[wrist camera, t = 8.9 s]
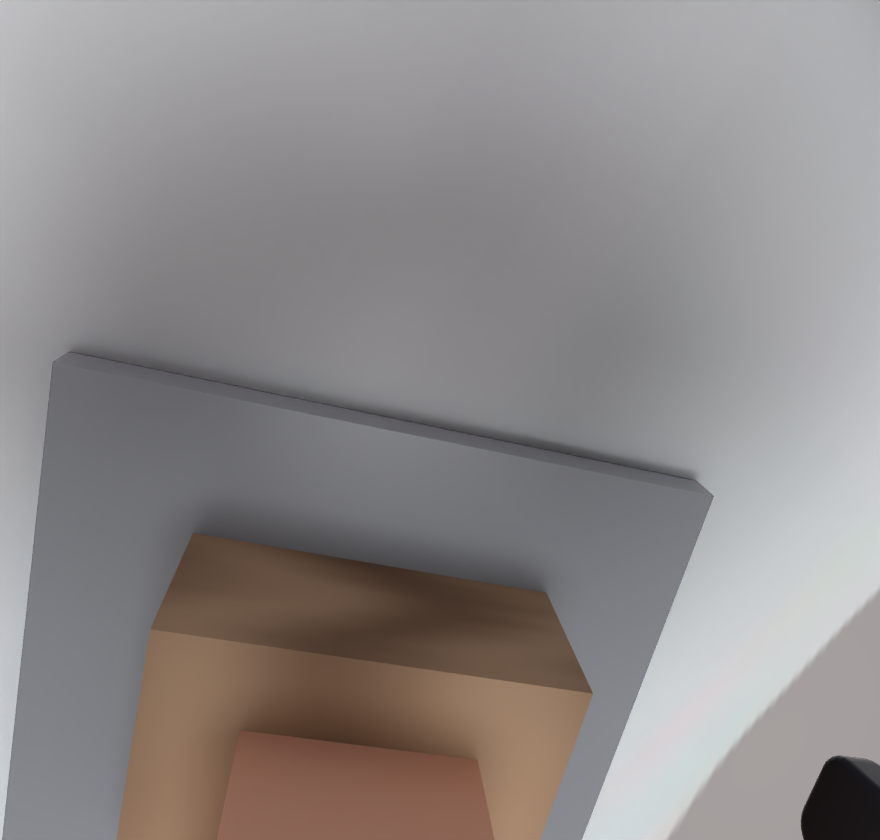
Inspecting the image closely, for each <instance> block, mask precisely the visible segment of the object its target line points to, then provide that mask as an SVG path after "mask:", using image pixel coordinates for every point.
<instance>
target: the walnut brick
mask: <svg viewBox="0 0 880 840" xmlns="http://www.w3.org/2000/svg"><path fill="white" fill-rule="evenodd" d="M592 696H593V692H592V690H591V688H590V686H589V684H588V681H587V679H586V677H585V675H584V673H583V671H582V668H581V666H580V664H579V662H578V660H577V658H576V656H575V653H574V651H573V649H572V647H571V645H570V643H569V640H568V638H567V636H566V634H565V632H564V630H563V627H562V625H561V623H560V621H559V619H558V617H557V614H556V612H555V610H554V608H553V606H552V604H551V602H550V599H549V597H548V595H547V593H545V592H539V591H533V590H527V589H521V588H515V587H509V586H503V585H498V584H492V583H486V582H480V581H474V580H468V579H462V578H456V577H450V576H444V575H439V574H433V573H427V572H421V571H415V570H409V569H403V568H397V567H391V566H385V565H379V564H374V563H368V562H362V561H356V560H350V559H344V558H338V557H332V556H326V555H320V554H315V553H309V552H303V551H297V550H291V549H285V548H279V547H273V546H267V545H261V544H256V543H250V542H244V541H238V540H232V539H226V538H220V537H214V536H208V535H202V534H197V533H193V534H192V536H191V538H190V541H189V543H188V545H187V547H186V550H185V552H184V554H183V556H182V559H181V561H180V563H179V565H178V568H177V570H176V572H175V574H174V577H173V579H172V581H171V583H170V586H169V588H168V590H167V592H166V595H165V597H164V599H163V601H162V604H161V606H160V608H159V611H158V613H157V615H156V617H155V620H154V622H153V624H152V626H151V629H150V633H149V640H148V646H147V652H146V658H145V665H144V671H143V677H142V683H141V689H140V696H139V702H138V708H137V714H136V720H135V727H134V733H133V739H132V745H131V751H130V758H129V764H128V770H127V776H126V782H125V789H124V795H123V801H122V807H121V814H120V820H119V826H118V832H117V838H116V840H217V836H218V831H219V827H220V822H221V817H222V812H223V808H224V803H225V798H226V793H227V789H228V784H229V779H230V774H231V769H232V765H233V760H234V755H235V750H236V746H237V741H238V736H239V731H240V730H242V731H250V732H258V733H266V734H274V735H282V736H290V737H298V738H306V739H314V740H322V741H330V742H338V743H346V744H354V745H362V746H370V747H378V748H386V749H394V750H402V751H410V752H418V753H426V754H434V755H442V756H450V757H458V758H466V759H474V760H478V764H479V769H480V774H481V778H482V783H483V788H484V792H485V797H486V802H487V806H488V811H489V816H490V820H491V825H492V830H493V834H494V839H495V840H540V838H541V836H542V833H543V830H544V827H545V825H546V822H547V819H548V816H549V814H550V811H551V808H552V805H553V803H554V800H555V797H556V794H557V792H558V789H559V786H560V783H561V781H562V778H563V775H564V772H565V770H566V767H567V764H568V761H569V759H570V756H571V753H572V750H573V748H574V745H575V742H576V739H577V737H578V734H579V731H580V728H581V726H582V723H583V720H584V717H585V715H586V712H587V709H588V707H589V704H590V701H591V698H592Z"/></svg>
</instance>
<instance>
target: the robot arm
mask: <svg viewBox="0 0 880 840" xmlns="http://www.w3.org/2000/svg"><path fill="white" fill-rule="evenodd" d="M801 830H802V835H803V839H804V840H880V765H878V764H877V763H875V762H873V761H870V760H868V759H864V758H856V757H847V756H834V757H831V758H830V759H829V760H828V761H826V763H825V764H824V766H823V768H822V770H821V772H820V774H819V776H818V778H817V781H816V783H815V785H814V787H813V789H812V791H811V793H810V795H809V798H808V800H807V802H806V804H805V806H804V808H803V811H802V815H801Z"/></svg>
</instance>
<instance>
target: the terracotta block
mask: <svg viewBox="0 0 880 840" xmlns="http://www.w3.org/2000/svg"><path fill="white" fill-rule="evenodd" d="M217 840H495V839H494V834H493V830H492V825H491V820H490V816H489V811H488V806H487V802H486V797H485V792H484V788H483V783H482V778H481V774H480V769H479V764H478V760H474V759H466V758H458V757H450V756H442V755H434V754H426V753H418V752H410V751H402V750H394V749H386V748H378V747H370V746H362V745H354V744H346V743H338V742H330V741H322V740H314V739H306V738H298V737H290V736H282V735H274V734H266V733H258V732H250V731H242V730H240V731H239V736H238V741H237V746H236V750H235V755H234V760H233V765H232V769H231V774H230V779H229V784H228V789H227V793H226V798H225V803H224V808H223V812H222V817H221V822H220V827H219V831H218V836H217Z"/></svg>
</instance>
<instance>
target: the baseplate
mask: <svg viewBox="0 0 880 840" xmlns="http://www.w3.org/2000/svg"><path fill="white" fill-rule="evenodd" d="M713 497H714V496H713V495H712V494H711V493H710V492H709V491H707V490H706V489H705V488H704V487H703V486H702V485H701V484H700V483H698V482H697V481H695V480H690V479H685V478H680V477H675V476H670V475H665V474H661V473H656V472H651V471H646V470H641V469H636V468H631V467H627V466H622V465H617V464H612V463H607V462H602V461H597V460H592V459H588V458H583V457H578V456H573V455H568V454H563V453H558V452H554V451H549V450H544V449H539V448H534V447H529V446H524V445H520V444H515V443H510V442H505V441H500V440H495V439H490V438H486V437H481V436H476V435H471V434H466V433H461V432H456V431H452V430H447V429H442V428H437V427H432V426H427V425H422V424H418V423H413V422H408V421H403V420H398V419H393V418H388V417H384V416H379V415H374V414H369V413H364V412H359V411H354V410H350V409H345V408H340V407H335V406H330V405H325V404H320V403H316V402H311V401H306V400H301V399H296V398H291V397H286V396H282V395H277V394H272V393H267V392H262V391H257V390H252V389H248V388H243V387H238V386H233V385H228V384H223V383H218V382H214V381H209V380H204V379H199V378H194V377H189V376H184V375H180V374H175V373H170V372H165V371H160V370H155V369H150V368H146V367H141V366H136V365H131V364H126V363H121V362H116V361H112V360H107V359H102V358H97V357H92V356H87V355H82V354H78V353H73V352H68V353H67V354H65V355H64V356H62V357H60V358H59V359H57V360H56V361H54V362H53V366H52V376H51V385H50V395H49V404H48V413H47V423H46V432H45V442H44V451H43V460H42V470H41V479H40V489H39V498H38V507H37V517H36V526H35V536H34V545H33V554H32V564H31V573H30V583H29V592H28V602H27V611H26V620H25V630H24V639H23V649H22V658H21V667H20V677H19V686H18V696H17V705H16V714H15V724H14V733H13V743H12V752H11V761H10V771H9V780H8V790H7V799H6V808H5V818H4V827H3V837H2V840H116V838H117V832H118V826H119V820H120V814H121V807H122V801H123V795H124V789H125V782H126V776H127V770H128V764H129V758H130V751H131V745H132V739H133V733H134V727H135V720H136V714H137V708H138V702H139V696H140V689H141V683H142V677H143V671H144V665H145V658H146V652H147V646H148V640H149V633H150V629H151V626H152V624H153V622H154V620H155V617H156V615H157V613H158V611H159V608H160V606H161V604H162V601H163V599H164V597H165V595H166V592H167V590H168V588H169V586H170V583H171V581H172V579H173V577H174V574H175V572H176V570H177V568H178V565H179V563H180V561H181V559H182V556H183V554H184V552H185V550H186V547H187V545H188V543H189V541H190V538H191V536H192V534H193V533H197V534H202V535H208V536H214V537H220V538H226V539H232V540H238V541H244V542H250V543H256V544H261V545H267V546H273V547H279V548H285V549H291V550H297V551H303V552H309V553H315V554H320V555H326V556H332V557H338V558H344V559H350V560H356V561H362V562H368V563H374V564H379V565H385V566H391V567H397V568H403V569H409V570H415V571H421V572H427V573H433V574H439V575H444V576H450V577H456V578H462V579H468V580H474V581H480V582H486V583H492V584H498V585H503V586H509V587H515V588H521V589H527V590H533V591H539V592H545V593H547V595H548V597H549V599H550V602H551V604H552V606H553V608H554V610H555V612H556V614H557V617H558V619H559V621H560V623H561V625H562V627H563V630H564V632H565V634H566V636H567V638H568V640H569V643H570V645H571V647H572V649H573V651H574V653H575V656H576V658H577V660H578V662H579V664H580V666H581V668H582V671H583V673H584V675H585V677H586V679H587V681H588V684H589V686H590V688H591V690H592V692H593V696H592V698H591V701H590V704H589V707H588V709H587V712H586V715H585V717H584V720H583V723H582V726H581V728H580V731H579V734H578V737H577V739H576V742H575V745H574V748H573V750H572V753H571V756H570V759H569V761H568V764H567V767H566V770H565V772H564V775H563V778H562V781H561V783H560V786H559V789H558V792H557V794H556V797H555V800H554V803H553V805H552V808H551V811H550V814H549V816H548V819H547V822H546V825H545V827H544V830H543V833H542V836H541V838H540V840H582V838H583V835H584V832H585V830H586V827H587V825H588V822H589V819H590V817H591V814H592V812H593V809H594V806H595V804H596V801H597V798H598V796H599V793H600V791H601V788H602V785H603V783H604V780H605V778H606V775H607V772H608V770H609V767H610V765H611V762H612V759H613V757H614V754H615V752H616V749H617V746H618V744H619V741H620V739H621V736H622V733H623V731H624V728H625V726H626V723H627V720H628V718H629V715H630V713H631V710H632V707H633V705H634V702H635V700H636V697H637V694H638V692H639V689H640V687H641V684H642V681H643V679H644V676H645V674H646V671H647V668H648V666H649V663H650V661H651V658H652V655H653V653H654V650H655V648H656V645H657V642H658V640H659V637H660V635H661V632H662V629H663V627H664V624H665V622H666V619H667V616H668V614H669V611H670V609H671V606H672V603H673V601H674V598H675V596H676V593H677V590H678V588H679V585H680V583H681V580H682V577H683V575H684V572H685V570H686V567H687V564H688V562H689V559H690V557H691V554H692V551H693V549H694V546H695V544H696V541H697V538H698V536H699V533H700V531H701V528H702V525H703V523H704V520H705V518H706V515H707V512H708V510H709V507H710V505H711V502H712V499H713Z"/></svg>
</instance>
